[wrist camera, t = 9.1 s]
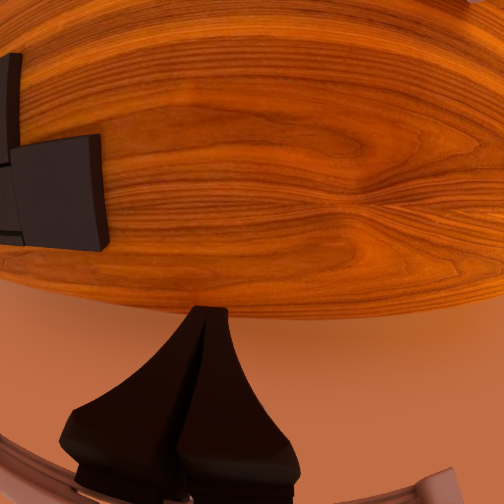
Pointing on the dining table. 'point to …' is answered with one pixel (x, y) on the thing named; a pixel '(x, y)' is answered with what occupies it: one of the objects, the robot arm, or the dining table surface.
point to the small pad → (56, 194)
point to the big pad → (9, 124)
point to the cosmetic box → (474, 1)
